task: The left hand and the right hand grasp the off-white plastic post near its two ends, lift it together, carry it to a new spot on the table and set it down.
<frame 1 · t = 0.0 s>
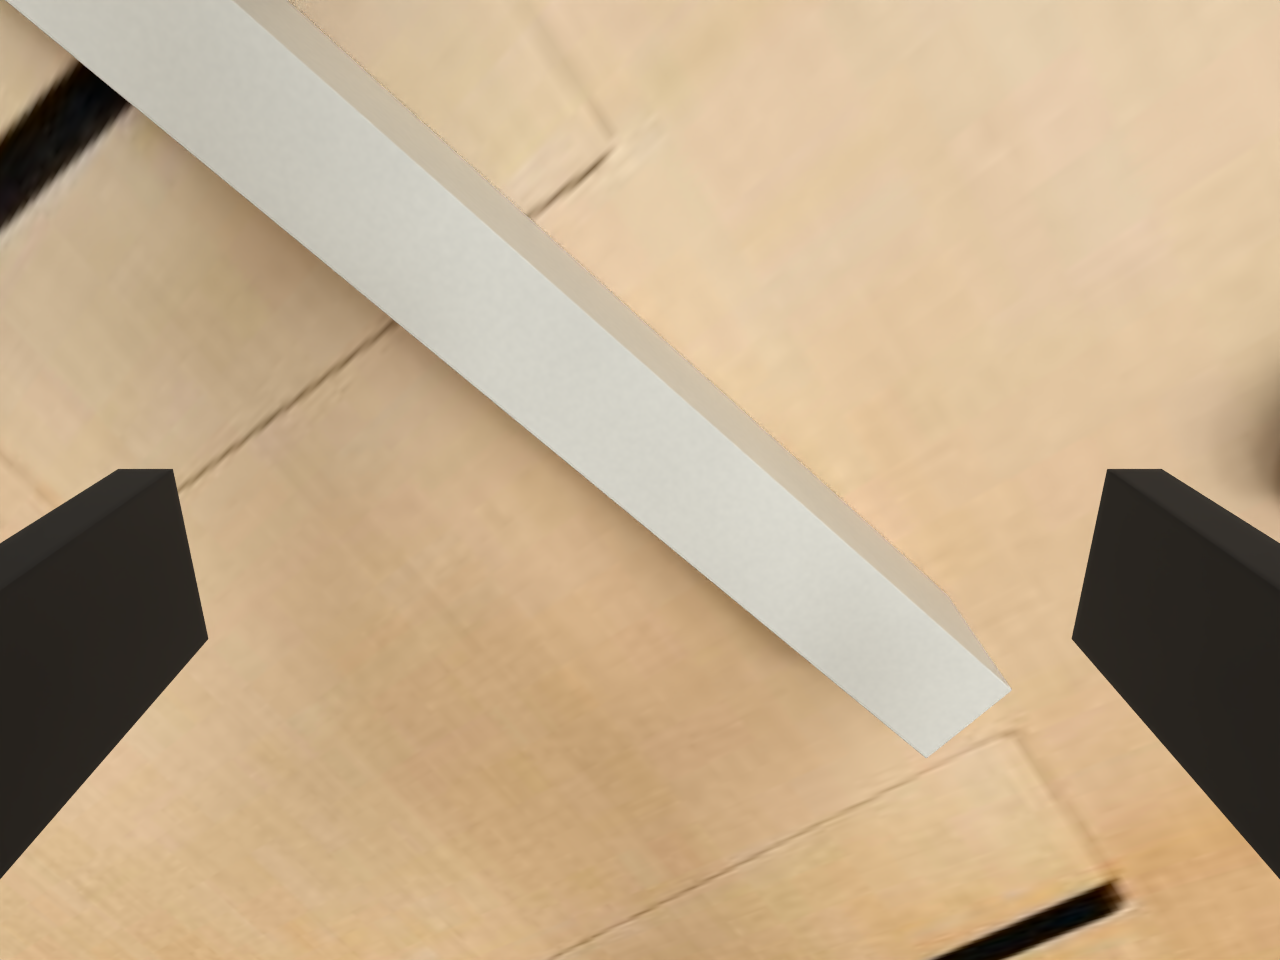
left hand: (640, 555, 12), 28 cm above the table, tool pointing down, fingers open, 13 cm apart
post: (477, 245, 38), on the table
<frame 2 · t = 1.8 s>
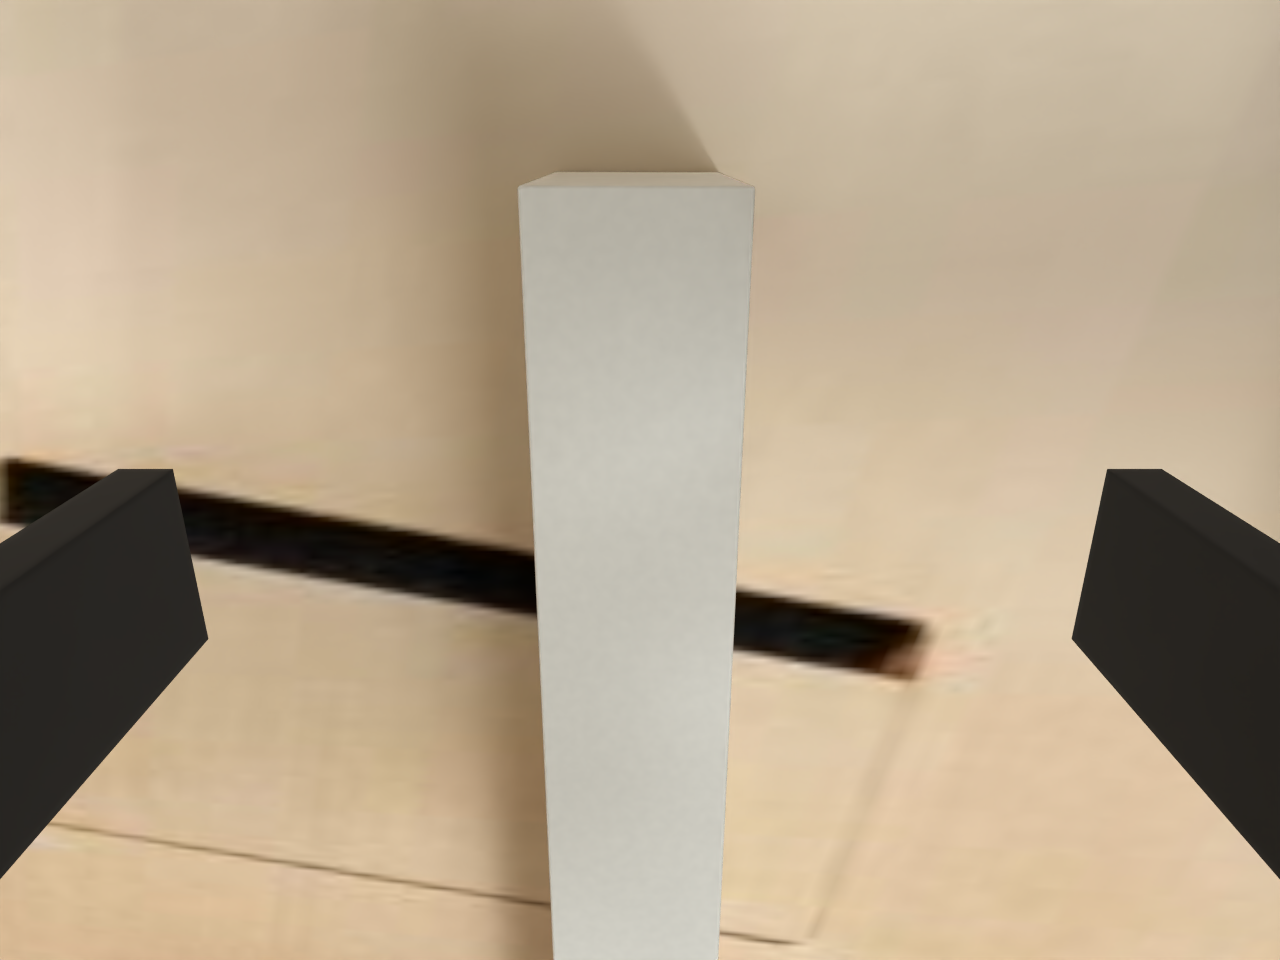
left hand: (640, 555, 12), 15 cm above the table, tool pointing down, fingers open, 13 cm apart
post: (636, 912, 36), on the table
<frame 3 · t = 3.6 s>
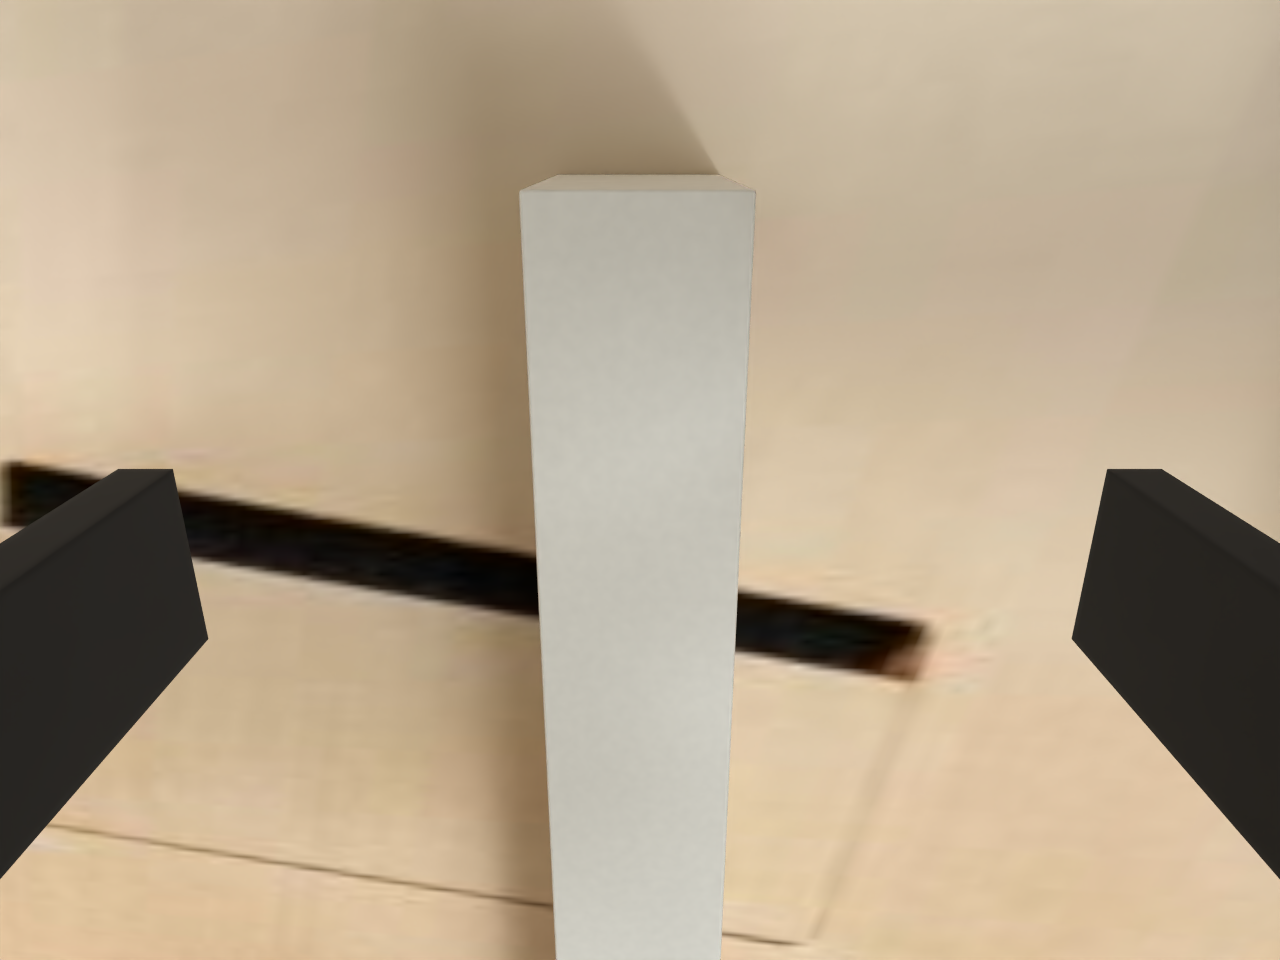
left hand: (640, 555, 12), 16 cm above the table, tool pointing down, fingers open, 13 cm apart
post: (638, 913, 36), on the table, touching right hand
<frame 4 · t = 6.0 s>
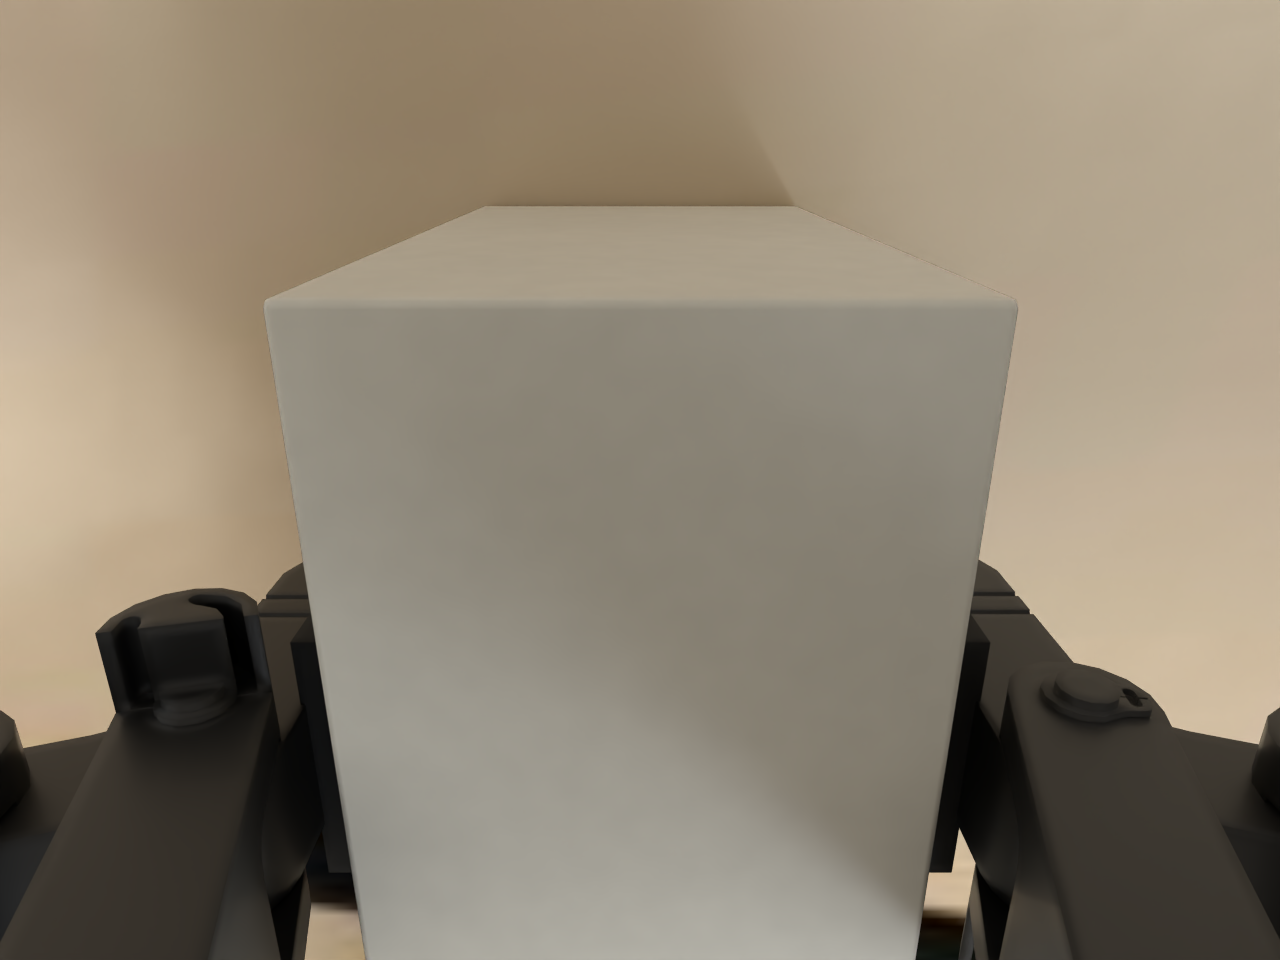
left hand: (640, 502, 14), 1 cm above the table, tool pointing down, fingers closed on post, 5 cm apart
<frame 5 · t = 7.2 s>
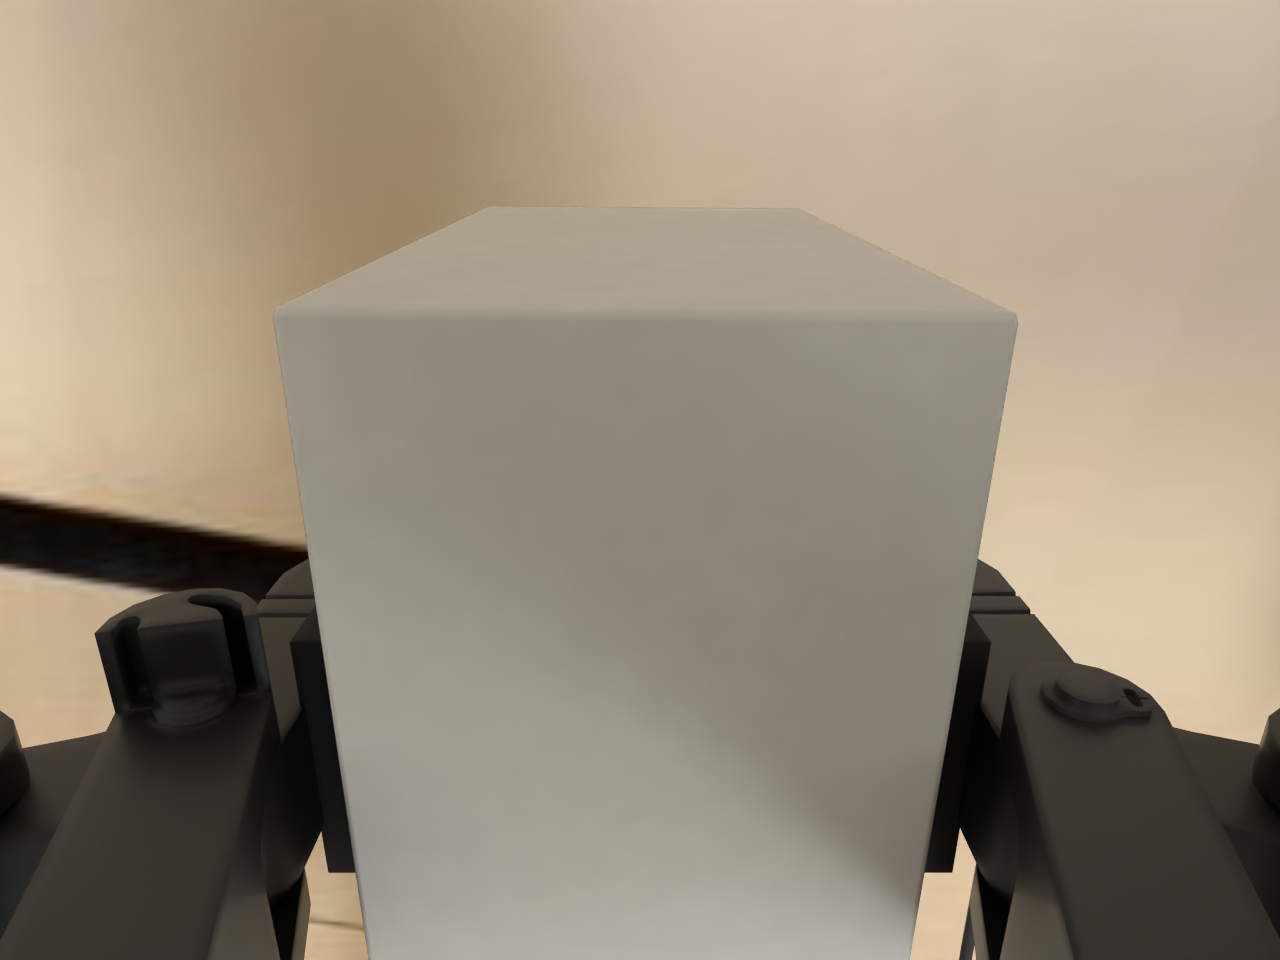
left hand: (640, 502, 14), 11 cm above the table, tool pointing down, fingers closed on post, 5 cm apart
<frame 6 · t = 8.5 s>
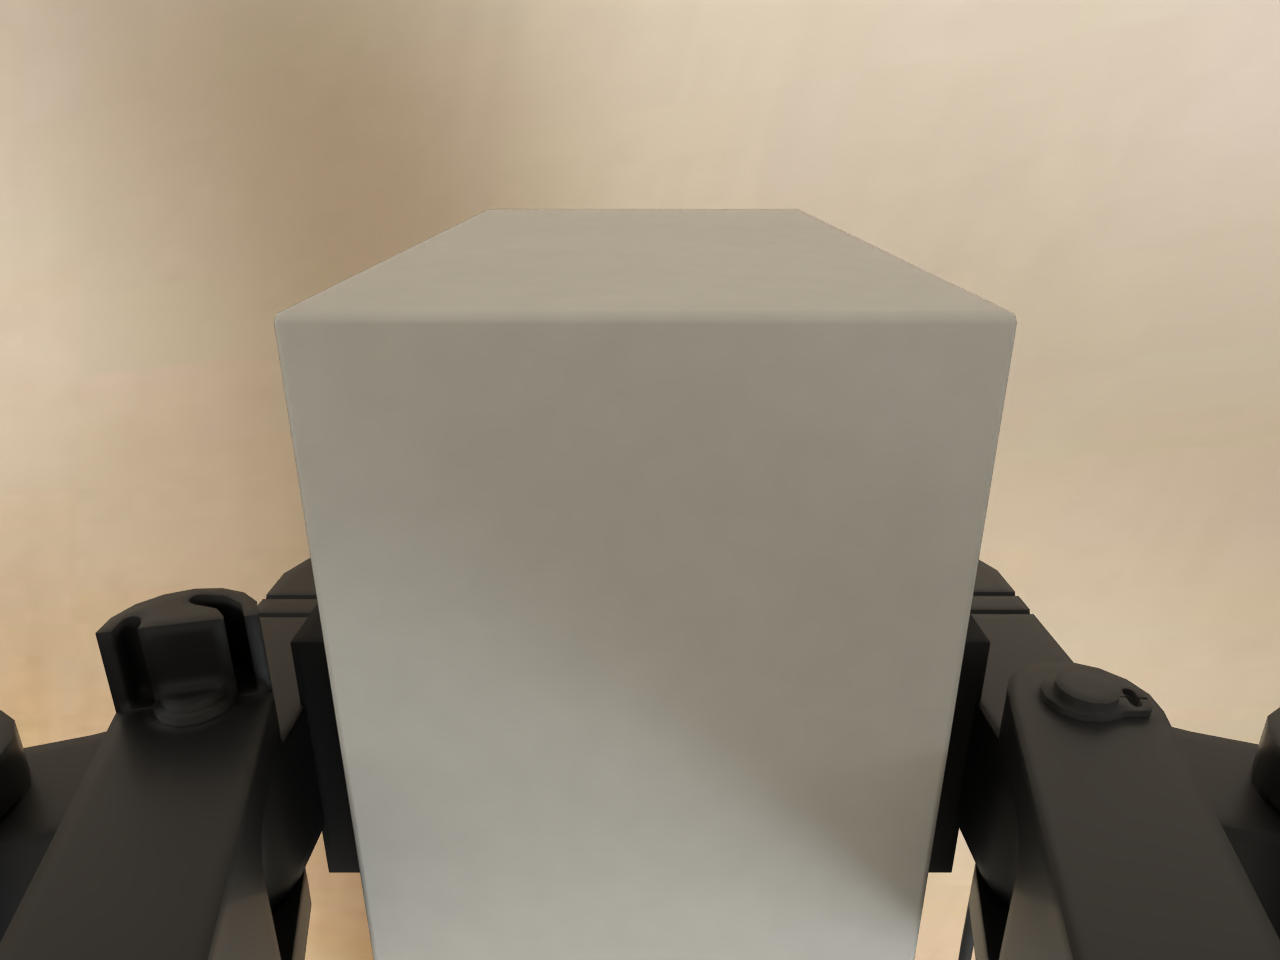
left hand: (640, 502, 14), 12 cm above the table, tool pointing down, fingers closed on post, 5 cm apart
when the left hand's fingers open (2 cm above the table, at t = 11.1 s): post drops 1 cm, on the table.
when the right hand's fingers open (4 cm above the table, at t = 11.2 s): post stays where it is, on the table.
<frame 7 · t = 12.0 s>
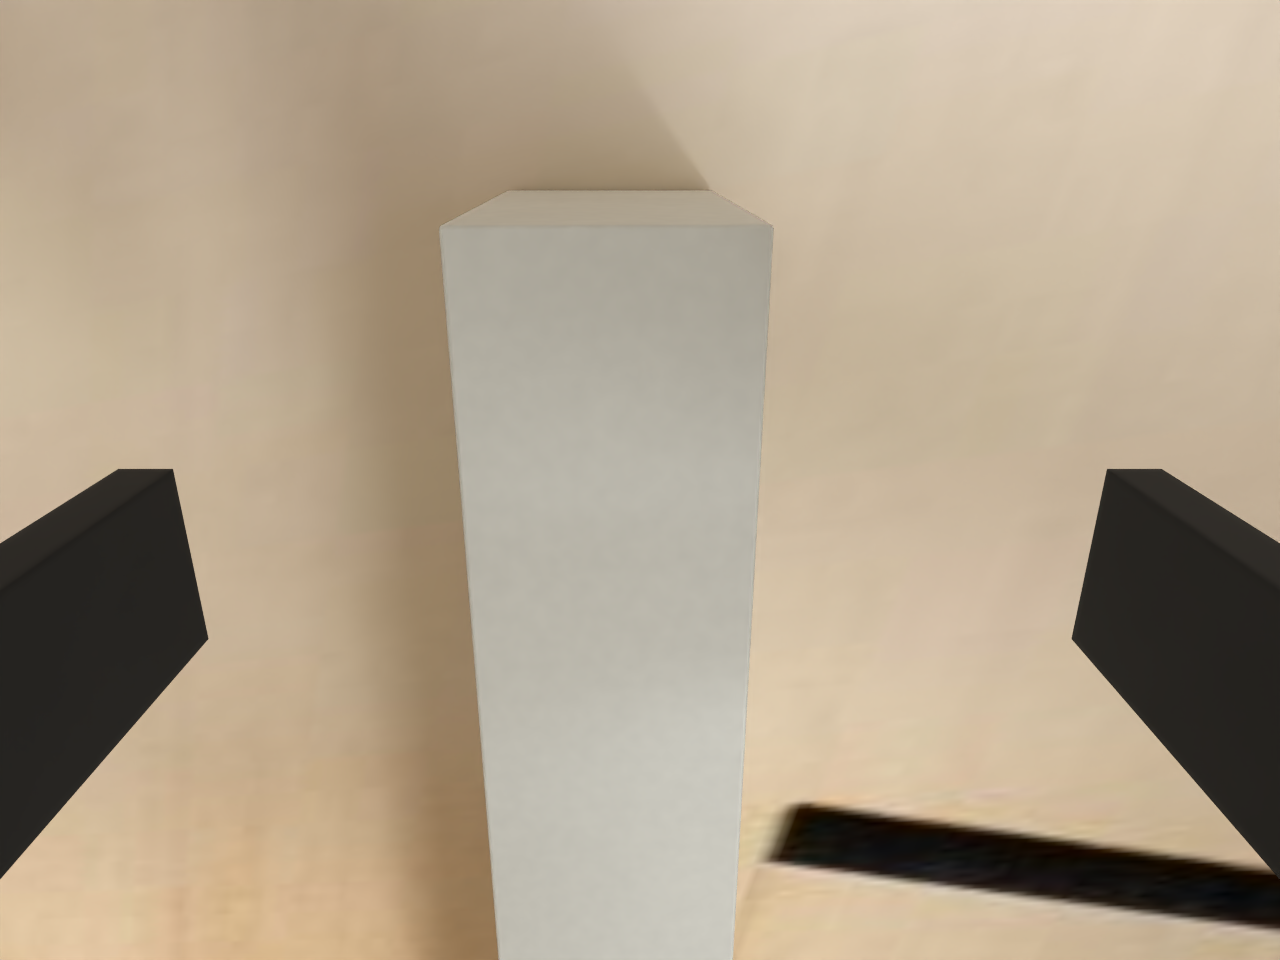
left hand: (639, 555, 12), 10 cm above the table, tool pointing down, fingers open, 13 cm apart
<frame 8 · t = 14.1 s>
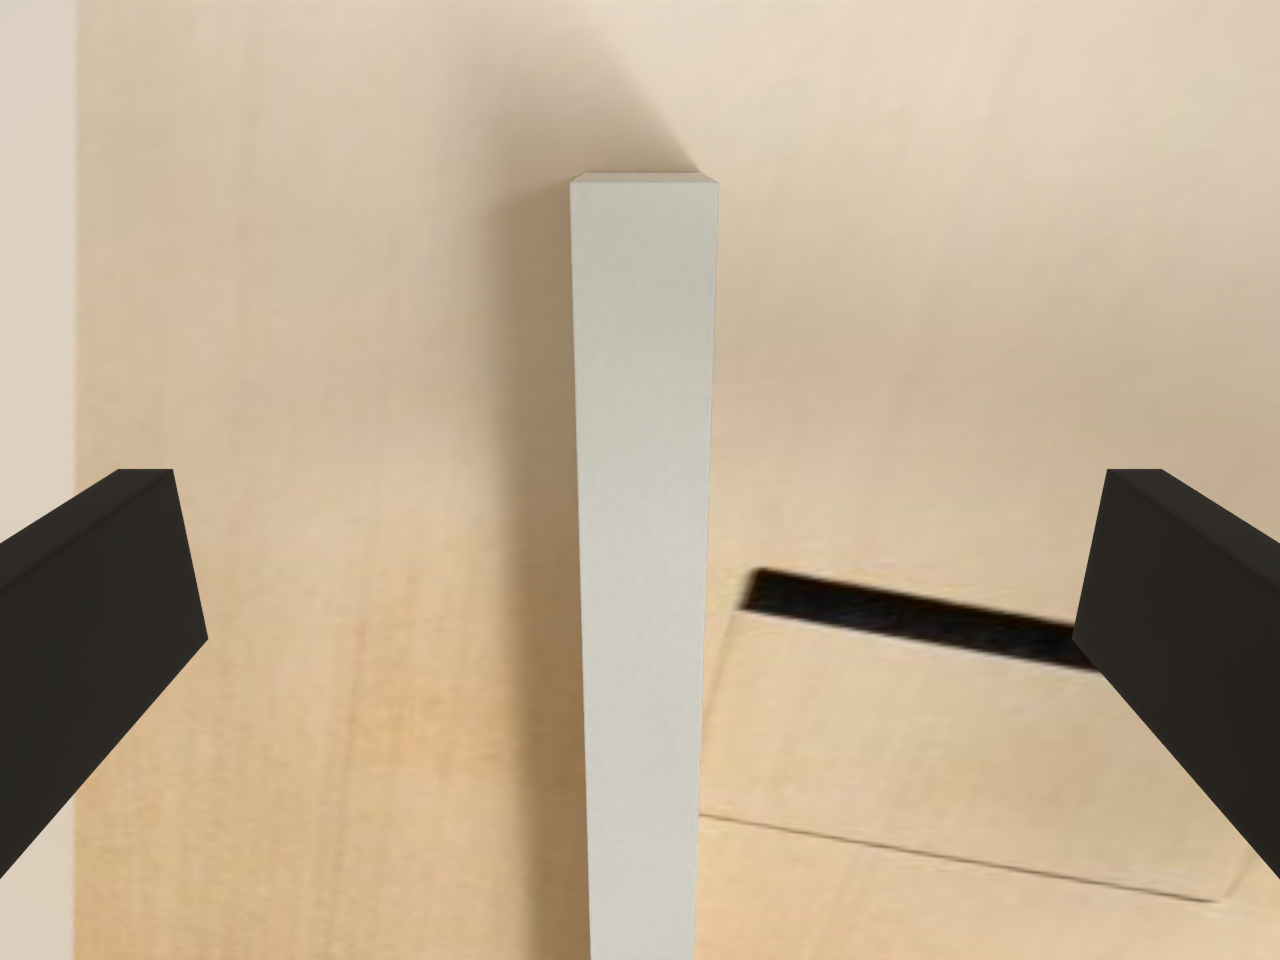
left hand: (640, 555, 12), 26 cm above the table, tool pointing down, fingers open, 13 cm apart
post: (642, 746, 46), on the table
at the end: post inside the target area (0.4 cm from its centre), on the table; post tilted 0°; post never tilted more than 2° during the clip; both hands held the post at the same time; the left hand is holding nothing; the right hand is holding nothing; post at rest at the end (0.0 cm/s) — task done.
